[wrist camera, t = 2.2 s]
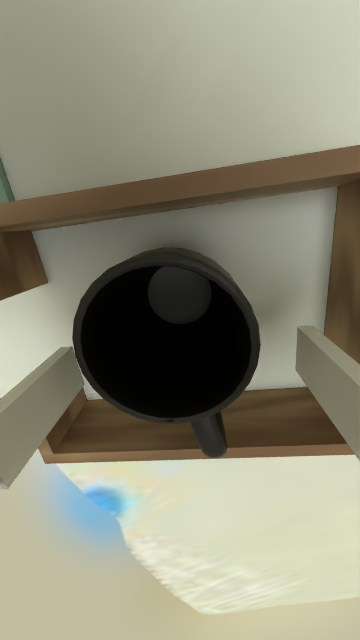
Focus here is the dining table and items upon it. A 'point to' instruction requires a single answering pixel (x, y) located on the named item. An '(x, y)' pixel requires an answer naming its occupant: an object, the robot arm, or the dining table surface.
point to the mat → (4, 187)
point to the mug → (168, 341)
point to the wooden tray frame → (251, 406)
